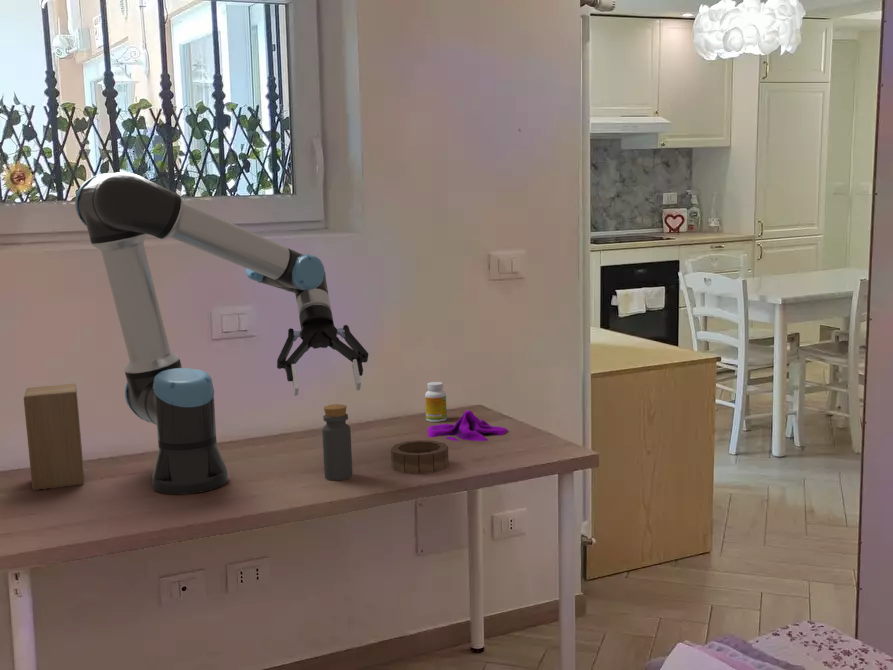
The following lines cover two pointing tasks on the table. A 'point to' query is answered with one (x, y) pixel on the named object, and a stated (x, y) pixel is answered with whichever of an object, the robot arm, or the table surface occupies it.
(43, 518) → the table surface
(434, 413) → the supplement bottle
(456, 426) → the cloth
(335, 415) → the bottle
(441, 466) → the bead ring
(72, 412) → the wooden block
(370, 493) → the table surface
